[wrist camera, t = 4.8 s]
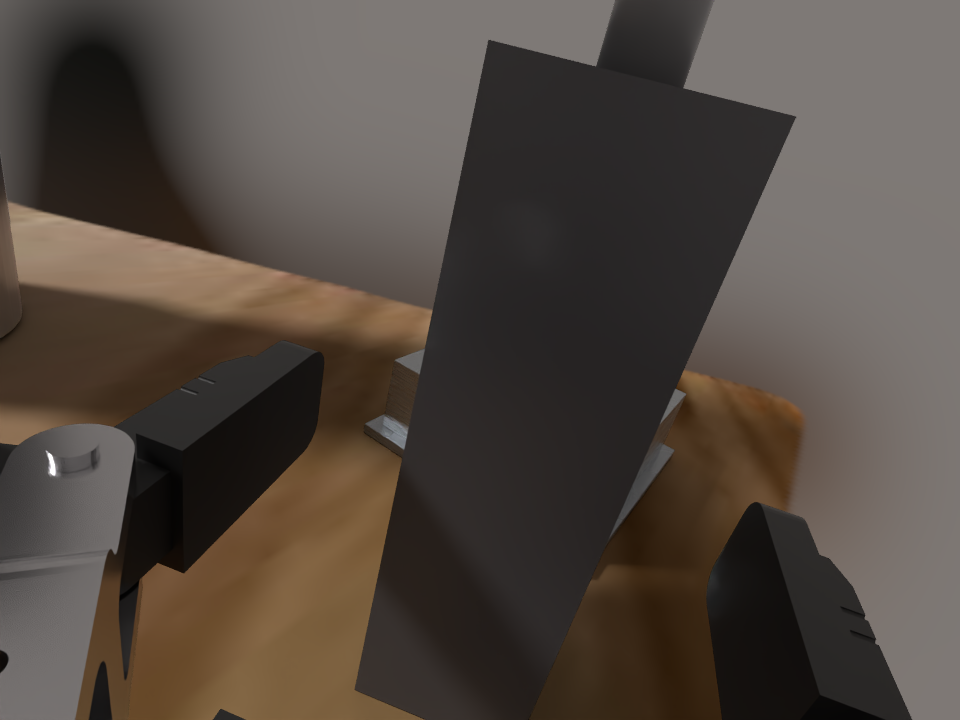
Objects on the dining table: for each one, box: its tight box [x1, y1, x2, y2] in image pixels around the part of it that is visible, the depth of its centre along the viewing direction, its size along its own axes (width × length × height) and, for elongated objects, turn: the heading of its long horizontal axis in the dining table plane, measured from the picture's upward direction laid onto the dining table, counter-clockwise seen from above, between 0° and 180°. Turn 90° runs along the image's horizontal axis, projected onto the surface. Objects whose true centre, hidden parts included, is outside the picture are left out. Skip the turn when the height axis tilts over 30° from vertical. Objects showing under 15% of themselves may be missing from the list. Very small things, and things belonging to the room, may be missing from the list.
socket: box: [364, 349, 686, 547], centre depth 24 cm, size 10×10×3 cm
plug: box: [355, 0, 796, 720], centre depth 12 cm, size 4×4×16 cm
